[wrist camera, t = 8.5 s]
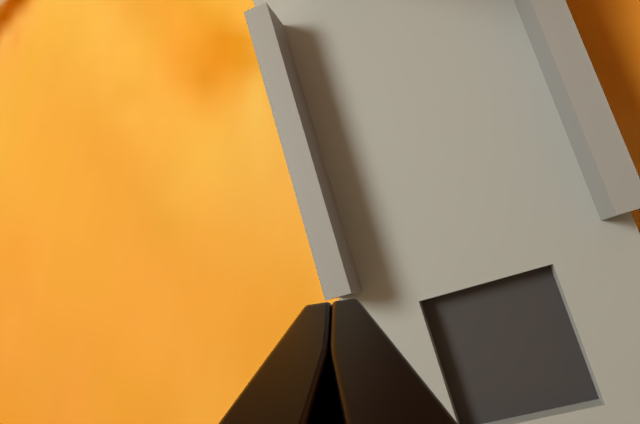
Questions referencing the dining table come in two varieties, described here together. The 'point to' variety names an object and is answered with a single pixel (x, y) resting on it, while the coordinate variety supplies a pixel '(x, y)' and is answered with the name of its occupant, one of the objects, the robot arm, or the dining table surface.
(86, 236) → the dining table surface
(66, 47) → the dining table surface
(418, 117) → the track
